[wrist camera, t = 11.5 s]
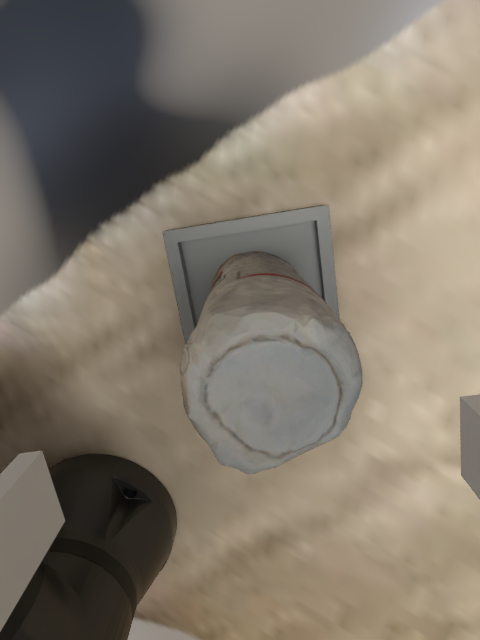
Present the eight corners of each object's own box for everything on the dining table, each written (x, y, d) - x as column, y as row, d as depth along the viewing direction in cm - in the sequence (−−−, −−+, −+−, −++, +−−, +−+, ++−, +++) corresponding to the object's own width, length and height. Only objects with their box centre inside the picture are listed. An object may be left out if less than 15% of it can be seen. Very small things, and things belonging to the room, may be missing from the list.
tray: (196, 373, 38) (193, 382, 36) (167, 230, 34) (162, 231, 32) (339, 353, 37) (343, 362, 35) (324, 204, 33) (328, 205, 31)
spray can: (247, 225, 33) (237, 258, 14) (327, 283, 34) (421, 388, 15) (190, 307, 35) (114, 435, 16) (268, 359, 36) (283, 538, 17)
